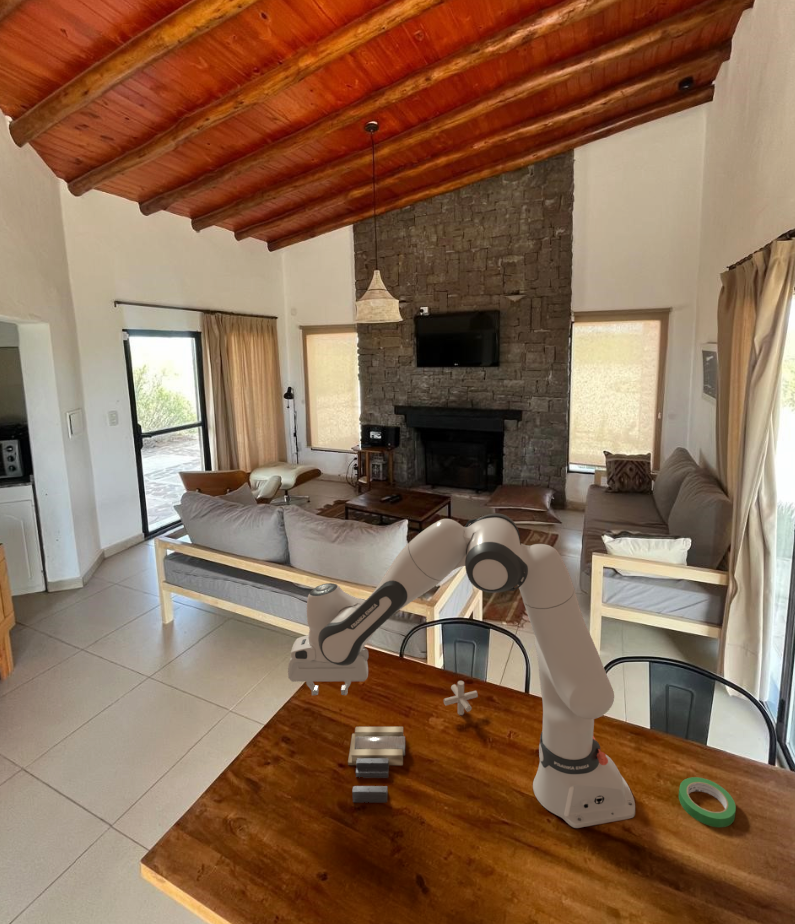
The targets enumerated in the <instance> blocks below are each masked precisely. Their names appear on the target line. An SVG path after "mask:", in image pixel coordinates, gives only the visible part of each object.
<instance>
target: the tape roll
mask: <svg viewBox="0 0 795 924" xmlns="http://www.w3.org/2000/svg"><path fill="white" fill-rule="evenodd" d="M694 792H700V793H701V792H702V793H705V794H708V795H710V796H713V798H715V799H716V800H718V801H719V803H720V804H721V805H722V806H723V808H724V809H723V810H722V811H711V810H708V809H706V808H703V807H701V806H699V805H698V804H697V803H696V802H695V801H693V800H692V798H691V797H690V794H691V793H694ZM678 800H679V803H680V805H681V807H682V809H684V811H685V812H686V813H687V814H688V815H690V816H691V818H693V819H694V820H696V821H698V822H699V823H701V824H704V825H706V826H709V827H713V828H726V827H729V826H731V825H732V824H733V823H734V821H735V817H736V810H737V806H736V802H735V800H734V799H733V796H731V794H730V793H729V792H728V791H727V790H726V789H725V788H724V787H722V786H721V785H720V784H718V783H716V782H714V781H712V780H710V779H707V778H704V777H697V776H693V777H691V776H690V777H688V778H685V779H683V780H682V781H681V782H680V785H679V790H678Z"/></svg>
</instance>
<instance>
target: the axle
mask: <svg viewBox="0 0 795 924" xmlns="http://www.w3.org/2000/svg"><path fill="white" fill-rule="evenodd" d="M355 749H403V756H406V736H405V735H403V736H356V737H355Z"/></svg>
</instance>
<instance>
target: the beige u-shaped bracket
mask: <svg viewBox="0 0 795 924" xmlns="http://www.w3.org/2000/svg"><path fill="white" fill-rule="evenodd" d="M356 736H404V726H356V727H355V728H354V733H352V734H351V740H350V748H349V753H348V760H347V765H348V766H356V761H357V758H389V766H403V765H404V755H403V749H355V737H356Z"/></svg>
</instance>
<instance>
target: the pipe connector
mask: <svg viewBox="0 0 795 924" xmlns="http://www.w3.org/2000/svg"><path fill="white" fill-rule="evenodd" d="M450 689H451V691H452V693H453V694H454V695H453V696H450V697H445V698H443V704H444V705H445V706H449V705H453V704H457V714H458V715H459V716H463V715H464V714H465V711H466V712H467V713H468V712H471V710H472V706H471V704H470V703H469V700H471V699H475V698H478V697H479V695H478V694H479V693H478V691H477V690H473V691H469V692H465V682H464V681H463V680H458V681H457V684H455V683H454V684H452V685H451V687H450Z"/></svg>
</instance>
